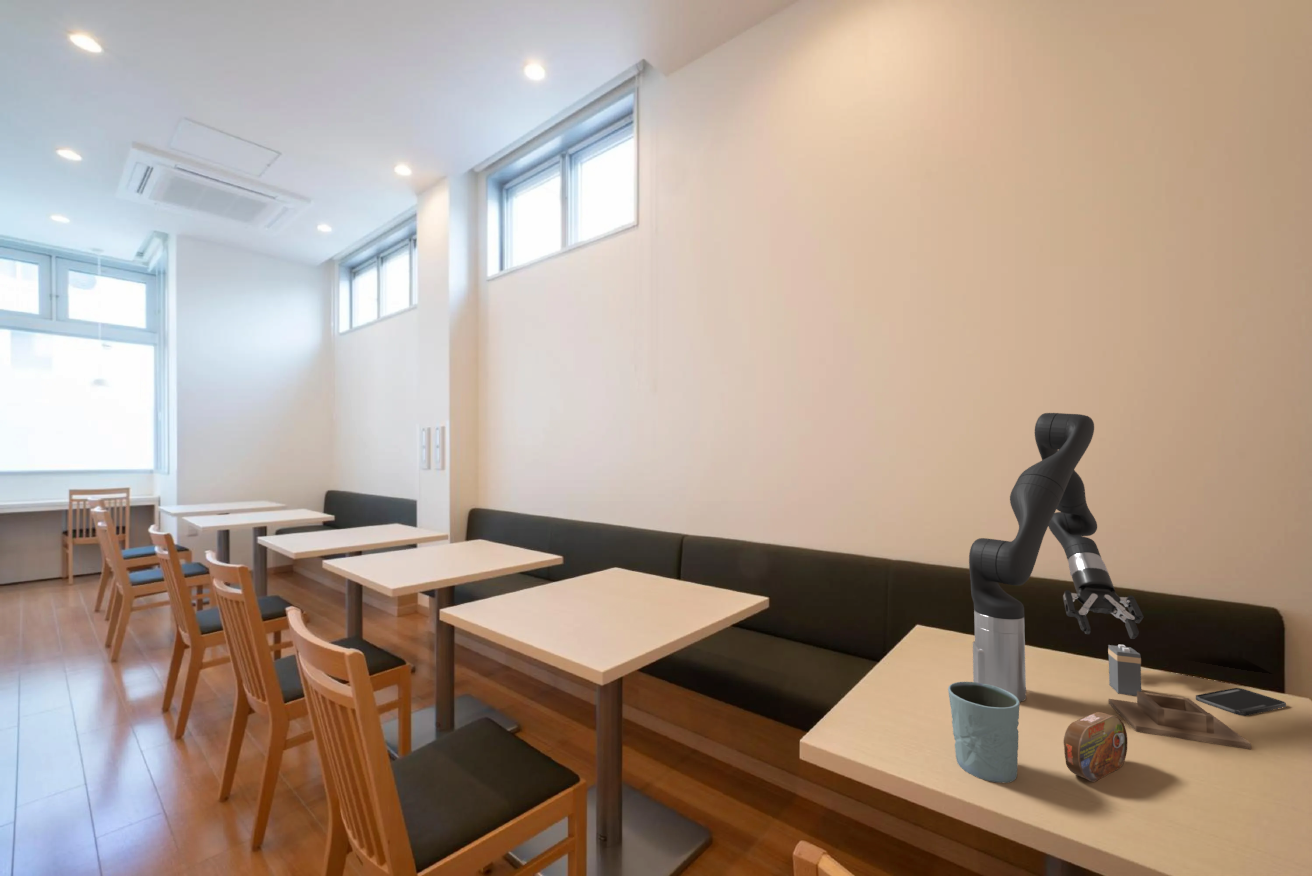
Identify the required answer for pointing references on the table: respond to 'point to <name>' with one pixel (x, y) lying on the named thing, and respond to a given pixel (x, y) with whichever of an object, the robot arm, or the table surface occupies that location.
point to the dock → (1176, 719)
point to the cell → (1124, 669)
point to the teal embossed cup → (985, 730)
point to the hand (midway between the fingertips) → (1110, 634)
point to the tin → (1095, 745)
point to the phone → (1240, 701)
